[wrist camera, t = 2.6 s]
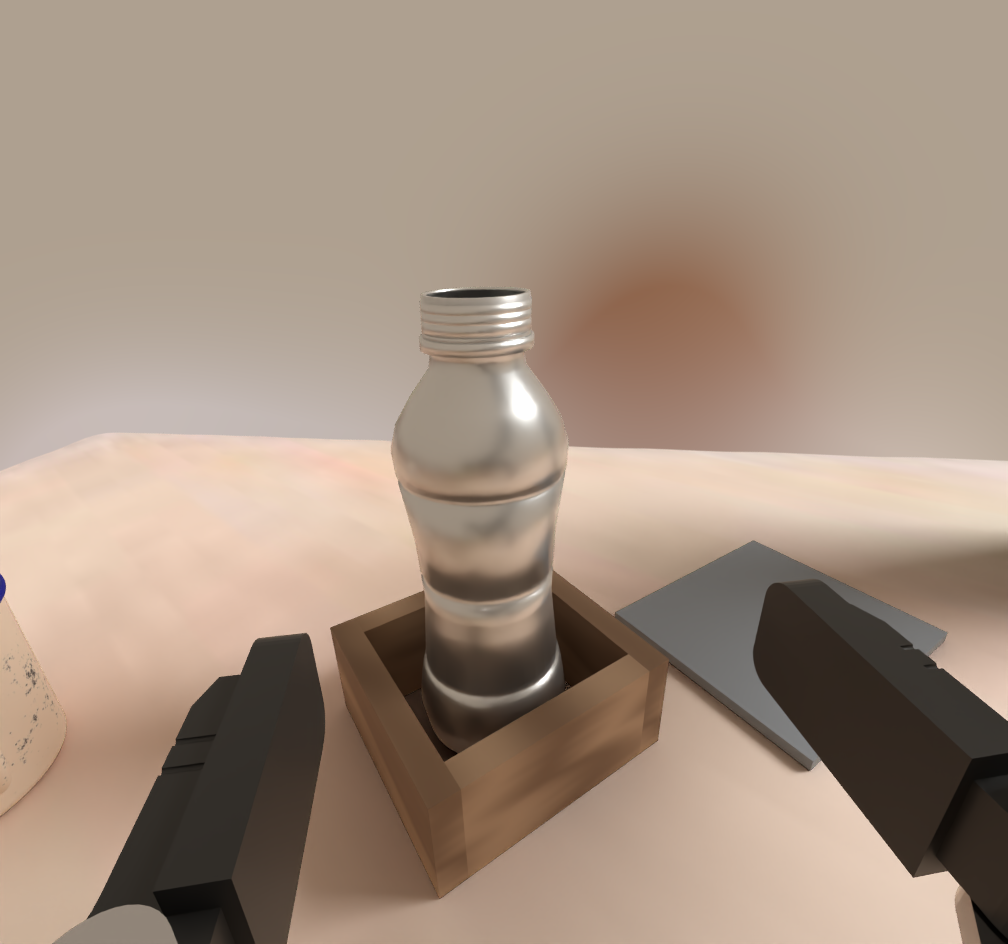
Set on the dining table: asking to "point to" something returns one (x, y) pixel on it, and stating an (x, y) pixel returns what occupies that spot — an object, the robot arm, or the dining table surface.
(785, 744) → the rubber mat
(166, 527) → the dining table surface
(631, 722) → the walnut sleeve
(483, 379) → the silver aluminum bottle
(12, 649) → the teacup with lid
